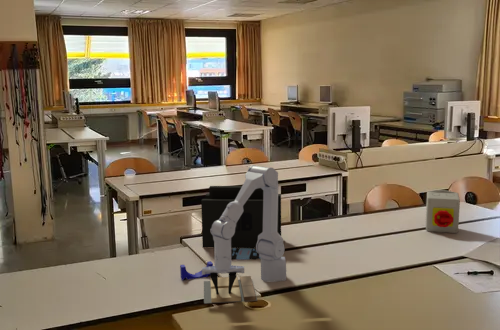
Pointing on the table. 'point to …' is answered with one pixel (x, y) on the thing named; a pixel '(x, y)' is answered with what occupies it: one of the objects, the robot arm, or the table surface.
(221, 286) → the oak plank far
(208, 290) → the underlay mat
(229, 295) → the oak plank near
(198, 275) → the blue cradle bracket
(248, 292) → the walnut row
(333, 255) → the table surface
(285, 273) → the robot arm
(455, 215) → the electrical switch box
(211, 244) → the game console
